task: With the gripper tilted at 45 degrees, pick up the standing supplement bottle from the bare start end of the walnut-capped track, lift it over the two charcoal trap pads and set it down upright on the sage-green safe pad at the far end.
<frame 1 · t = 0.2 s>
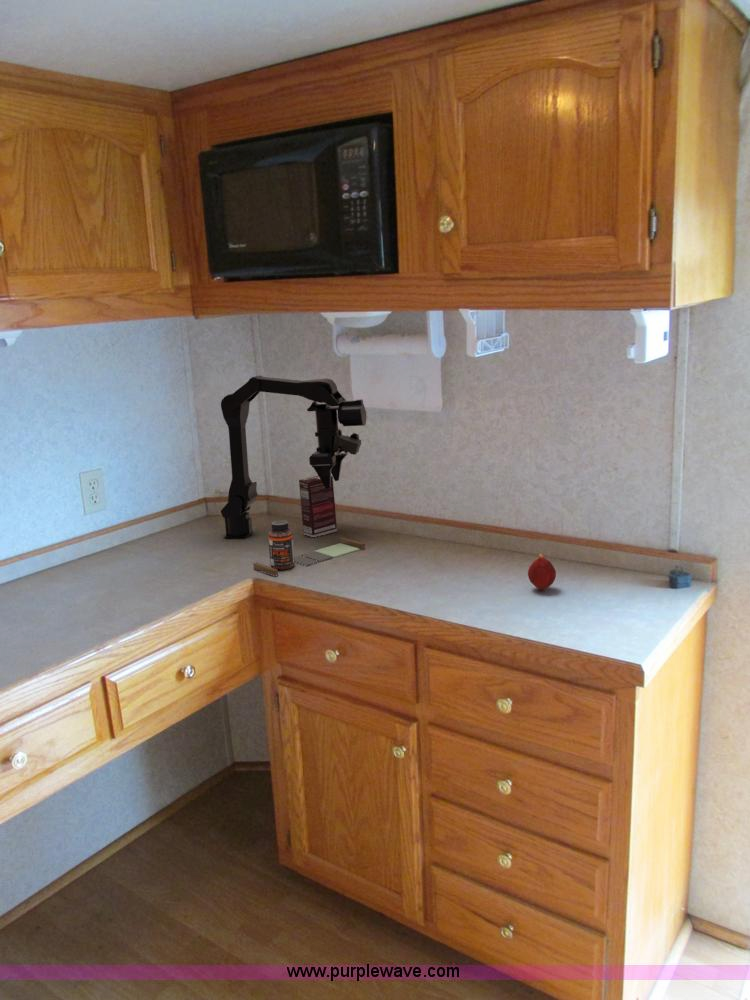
hand: (332, 484, 223), 15 cm above the worktop, tool pointing down, fingers open, 9 cm apart
trap pads: (310, 558, 207), on the worktop
supplement box: (320, 534, 230), on the worktop
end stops: (310, 558, 207), on the worktop
onion: (542, 591, 177), on the worktop
supplement bottle: (282, 567, 202), on the worktop
safe pad: (337, 550, 213), on the worktop
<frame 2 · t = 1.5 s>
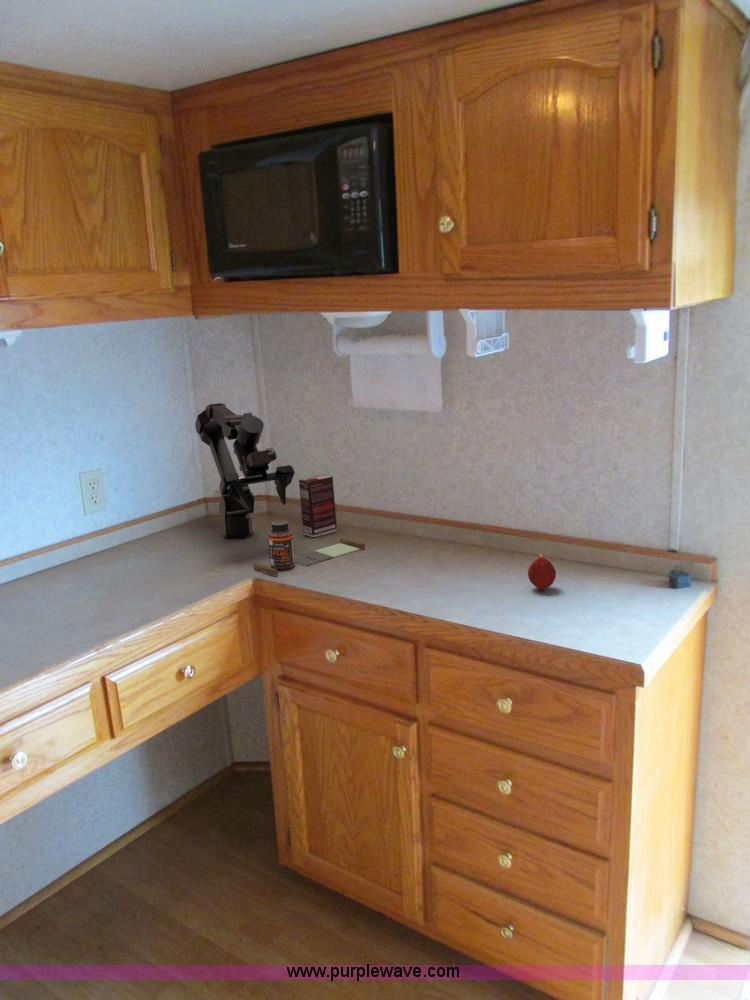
hand: (267, 507, 206), 13 cm above the worktop, tool tilted 45°, fingers open, 9 cm apart
nothing on the worktop moved.
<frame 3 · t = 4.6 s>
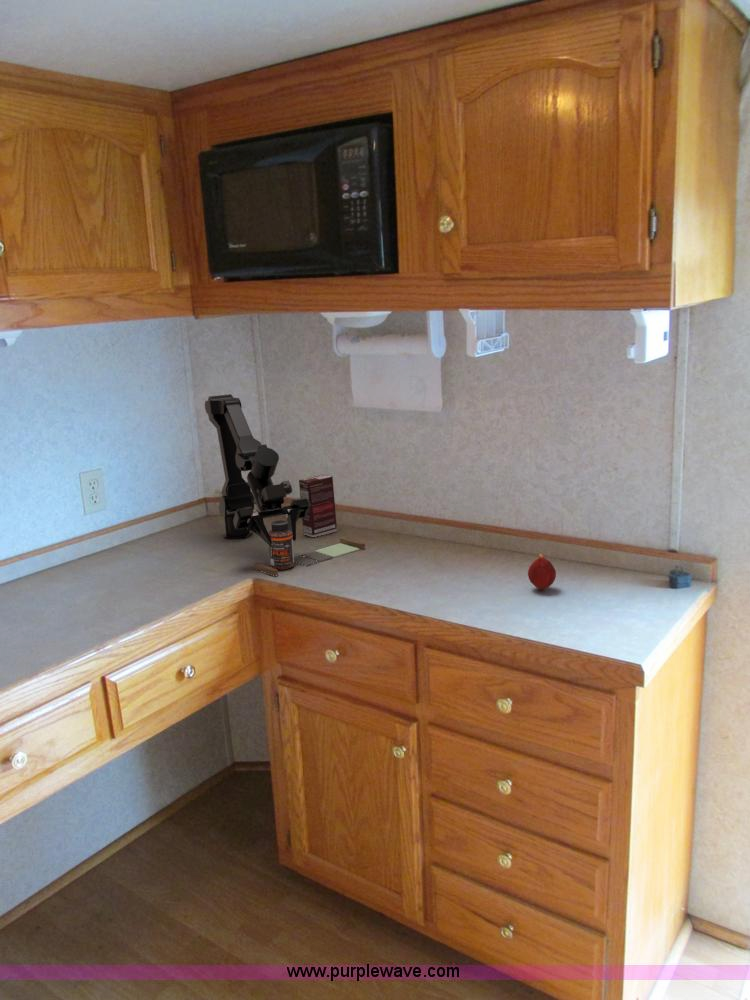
hand: (282, 542, 200), 7 cm above the worktop, tool tilted 45°, fingers closed on supplement bottle, 6 cm apart
supplement bottle: (283, 567, 202), on the worktop, touching gripper
everything else where it was.
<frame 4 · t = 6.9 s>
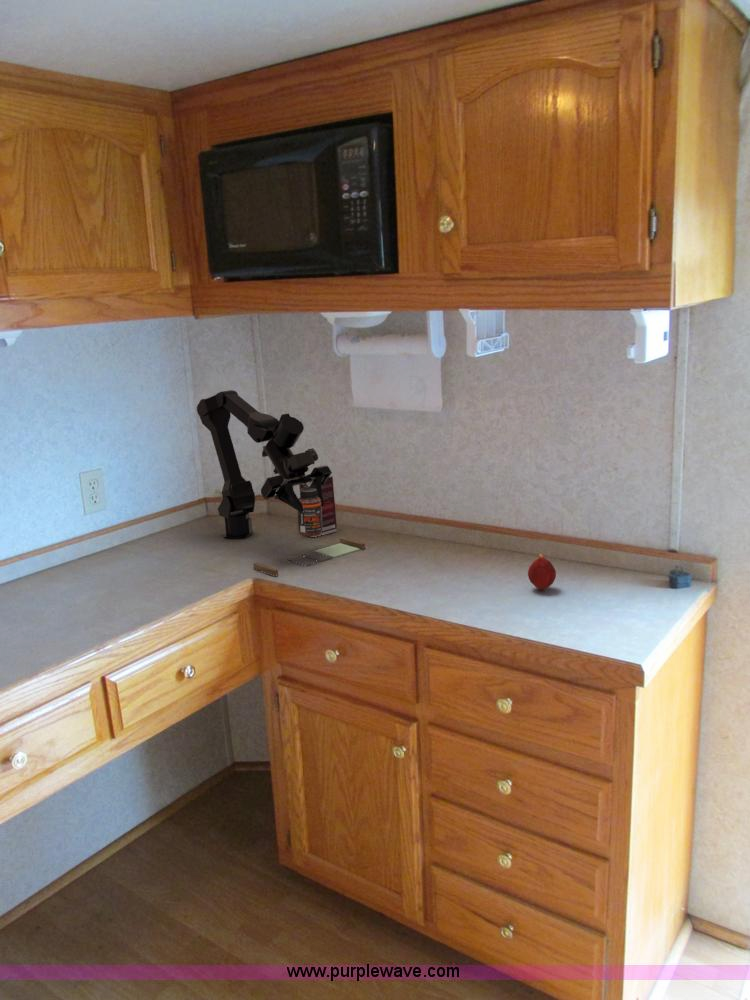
hand: (312, 508, 203), 13 cm above the worktop, tool tilted 45°, fingers closed on supplement bottle, 6 cm apart
supplement bottle: (311, 534, 205), point 6 cm above the worktop, touching gripper
everything else where it was.
when the fingers open (8 cm above the worktop, at t = 9.3 s): supplement bottle drops 1 cm, resting on safe pad.
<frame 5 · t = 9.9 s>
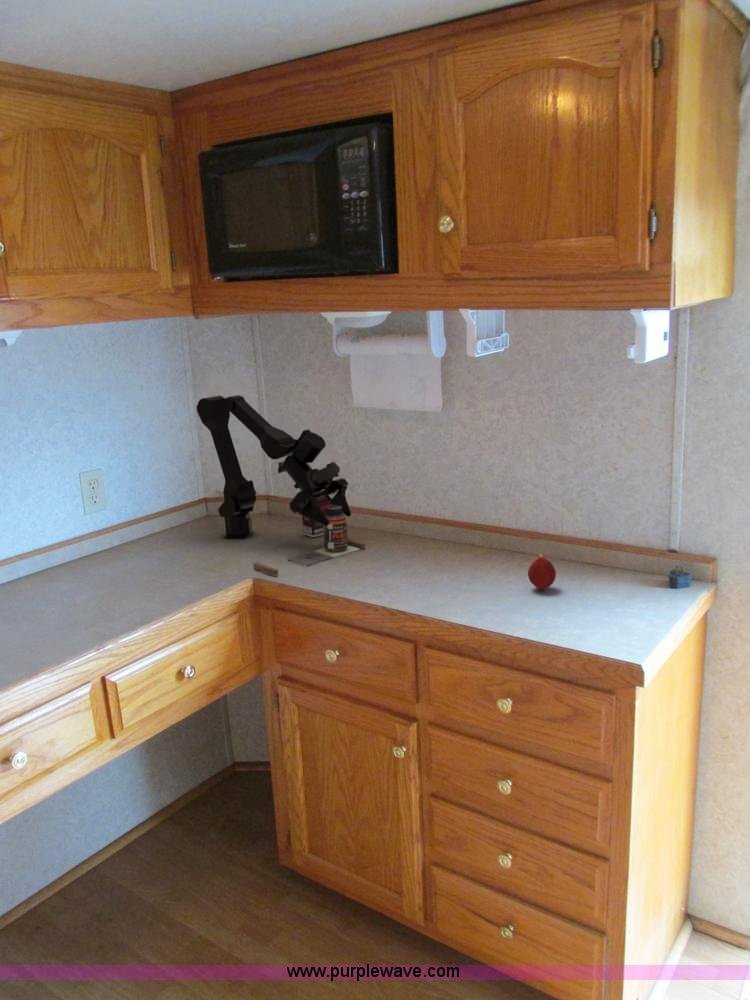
hand: (339, 520, 210), 8 cm above the worktop, tool tilted 45°, fingers open, 9 cm apart
supplement bottle: (336, 550, 213), resting on safe pad
everything else where it was.
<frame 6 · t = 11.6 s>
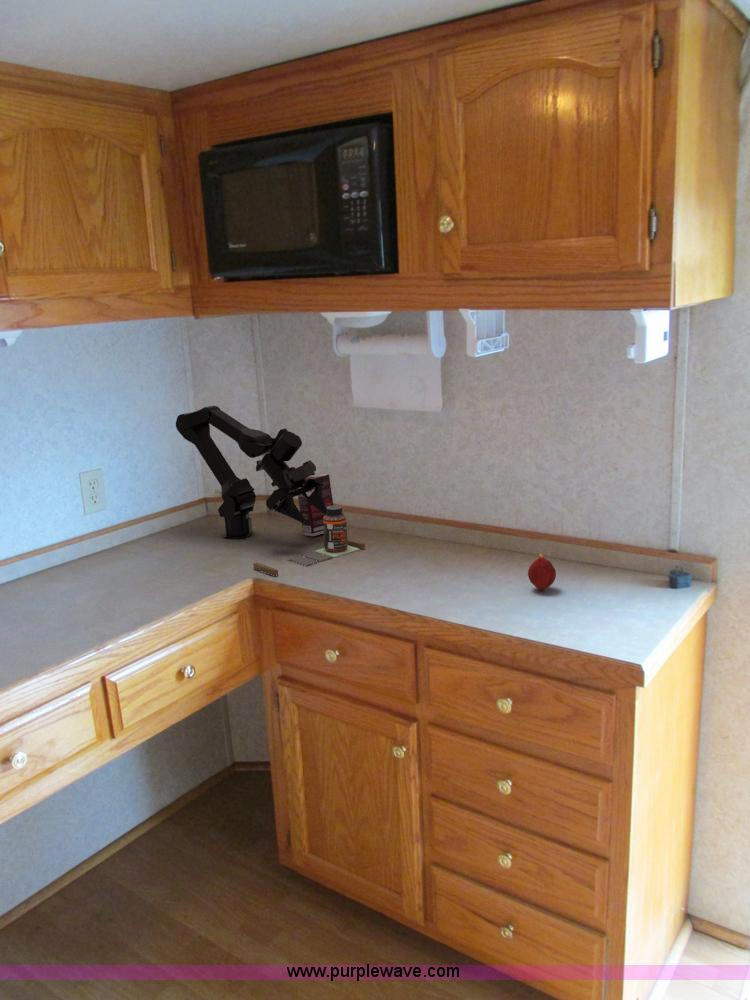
hand: (315, 517, 214), 8 cm above the worktop, tool tilted 45°, fingers open, 9 cm apart
supplement box: (320, 533, 230), on the worktop, touching gripper
everything else where it was.
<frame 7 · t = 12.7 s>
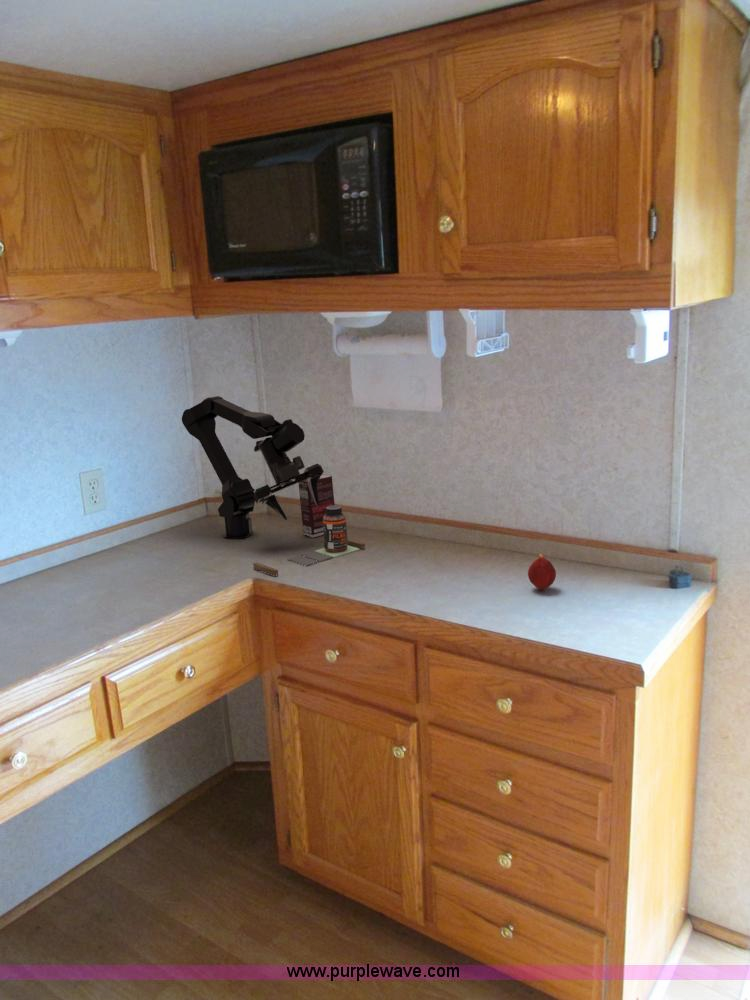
hand: (302, 513, 215), 9 cm above the worktop, tool tilted 30°, fingers open, 9 cm apart
supplement box: (319, 534, 230), on the worktop
everything else where it was.
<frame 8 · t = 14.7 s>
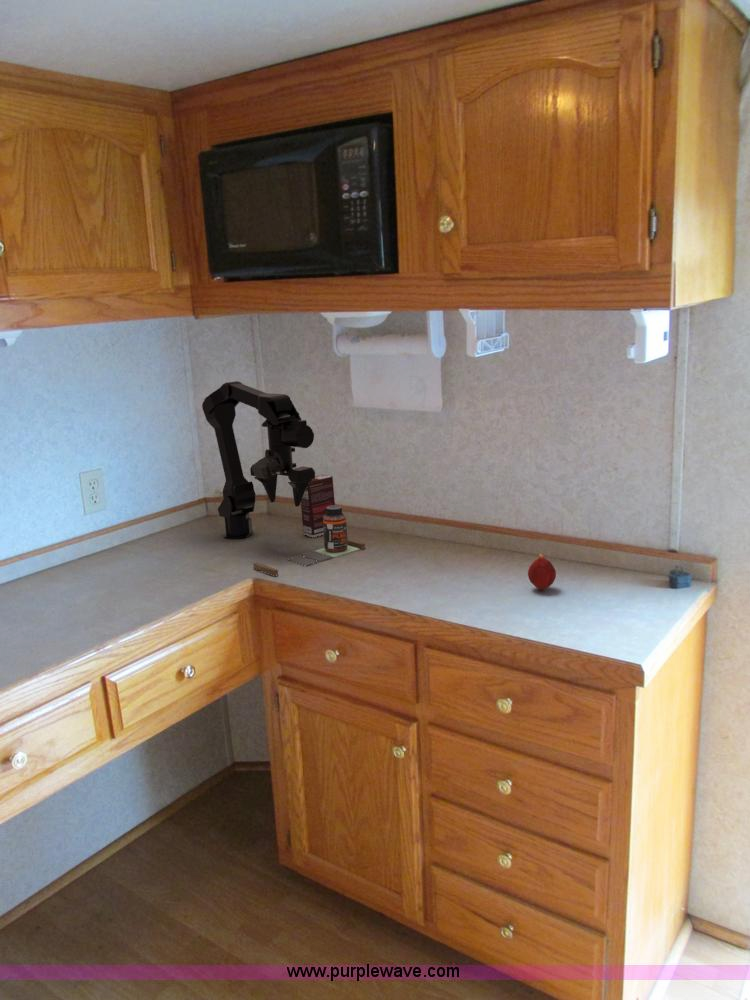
hand: (284, 504, 214), 12 cm above the worktop, tool pointing down, fingers open, 9 cm apart
nothing on the worktop moved.
at the end: supplement bottle 0.2 cm from the safe pad (horizontally); supplement bottle tilted 0°; supplement bottle resting on safe pad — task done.
